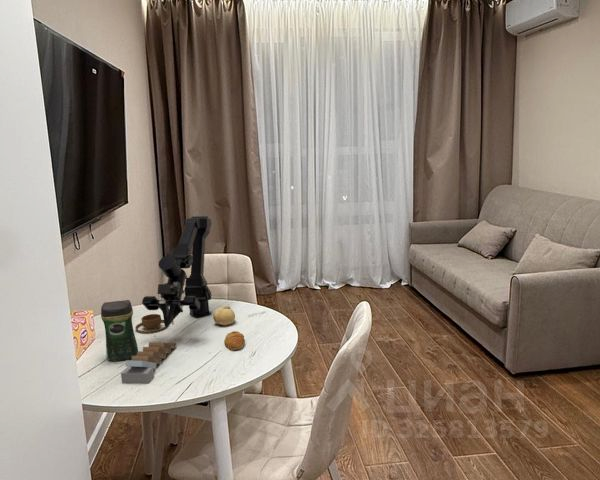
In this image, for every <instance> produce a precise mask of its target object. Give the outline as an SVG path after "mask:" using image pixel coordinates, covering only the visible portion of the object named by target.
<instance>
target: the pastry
mask: <svg viewBox="0 0 600 480" xmlns="http://www.w3.org/2000/svg"><path fill="white" fill-rule="evenodd" d="M223 342H224V345H225V347H226V348H227V349H228V350H230V351H232V352H233V351H236V350H237V351H238V350H242V348H243V346H245V343H246V339H245V335H244V334H243V333H241V332H240V331H235V330H233V331H231V332H228V333H227V334H226V335H225V338H224V341H223Z"/></svg>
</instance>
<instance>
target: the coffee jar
mask: <svg viewBox="0 0 600 480" xmlns="http://www.w3.org/2000/svg"><path fill="white" fill-rule="evenodd" d="M133 314H134V309H133V306H132V302H131V300H130V299H125V300H114V301H107V302H106V301H105V302H103V303H102V305H101V308H100V318H101V321H102V322H103V325H104V332H105V351H106V358H107V360H108V361H110V362H115V361H123V360H124V361H126V360H130V359H132V356H137V351H139V347H138V343H137V339H136V335H135V331H134V326H133Z"/></svg>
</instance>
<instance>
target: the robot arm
mask: <svg viewBox="0 0 600 480" xmlns="http://www.w3.org/2000/svg"><path fill="white" fill-rule="evenodd" d="M211 228H212V219H211V218H209V216H208V215H198V216H196V215H195V216H193V215H191V218H190V217H189V218H188V217H187V218H186V219H184V227H183V231H182V233H181V236H180V238H179V242H178V245H177V246H176V247H175V248H173V249H172V251H171V252H167V253H166V254H165V256H163V257H161V259H160V260H159V261H158V267H159V268H160V270H161V271H162V273H163V274H164V276H165V277H166V278H167V281H166V283H164V284H163V283H161V284H160V283H159V284H157V295H160V297H161V298H159V299H157V297H156V296H154V295H146V296H143V298H142V301H141V304H142V305H143V306H144V308H146V310H147V311H157V310H159V309H160V311H161V312H162V316H163V317H162V318H163V320H164V323H163V324H164V327H167V328H168V327H169V326H170V325H171V324H172V321H174V320H175V319H176V318H177V317H178V316H179V315H180V314H181V313H184V310H183V309H184V306H186V307H188V308H189V315H190V316H192V317H194V318H195V319H198V318H202V317H205V316H209V315H212V312H210V306H209V301H210V300H212V291H211V289H210V288H209V286H208V280H206V278H205V275H204V272H205V271H204V268H205V247H206V239H207V237H208V235H209V234H211V233H210V232H211ZM191 251H192V252H191ZM184 269H190V270H191V271H190V275H189V277H188V275H187V273H186V271H185V270H184ZM183 294H184V295H185V296H184V297H183V299H182V296H183Z"/></svg>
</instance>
